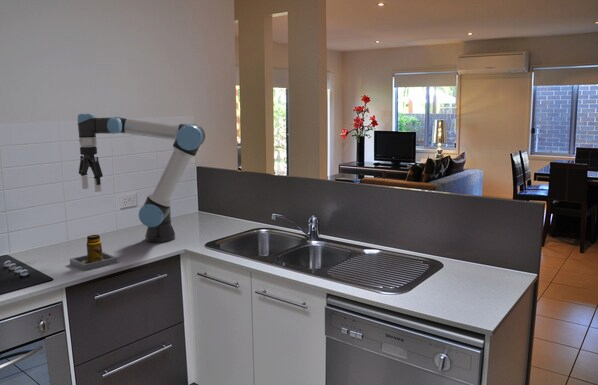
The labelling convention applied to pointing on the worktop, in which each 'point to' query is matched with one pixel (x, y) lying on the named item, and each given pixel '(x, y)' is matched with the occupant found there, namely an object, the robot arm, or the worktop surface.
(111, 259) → the tray
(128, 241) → the worktop surface
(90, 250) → the condiment
